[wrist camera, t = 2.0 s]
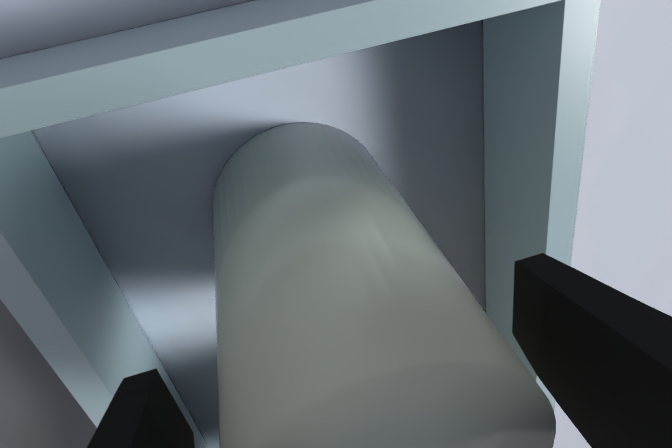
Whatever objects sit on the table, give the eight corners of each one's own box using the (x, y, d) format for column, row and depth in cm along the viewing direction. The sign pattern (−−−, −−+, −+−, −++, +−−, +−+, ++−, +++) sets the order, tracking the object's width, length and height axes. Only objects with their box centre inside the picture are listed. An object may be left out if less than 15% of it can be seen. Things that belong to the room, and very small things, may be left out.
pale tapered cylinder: (391, 248, 17) (545, 515, 9) (241, 292, 16) (273, 611, 9) (370, 102, 14) (569, 314, 6) (187, 149, 13) (164, 441, 6)
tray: (503, 385, 22) (548, 456, 19) (205, 481, 21) (205, 573, 18) (511, -59, 12) (607, -55, 9) (-45, 69, 11) (-134, 120, 8)
